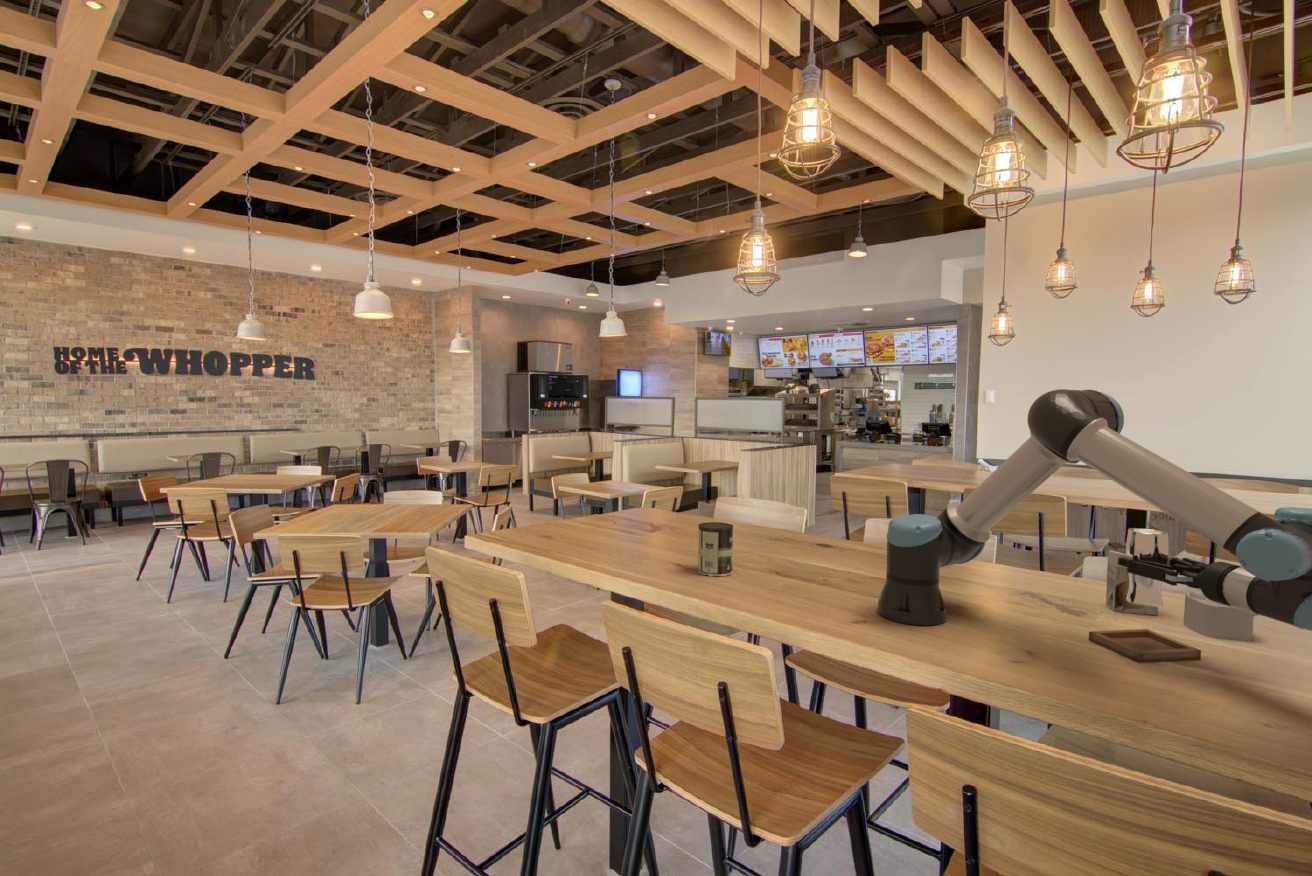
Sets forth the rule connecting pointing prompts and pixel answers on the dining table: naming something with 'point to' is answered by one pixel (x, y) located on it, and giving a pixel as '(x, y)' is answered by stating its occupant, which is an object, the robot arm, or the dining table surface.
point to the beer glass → (1150, 549)
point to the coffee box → (1122, 587)
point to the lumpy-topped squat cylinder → (1216, 618)
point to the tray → (1144, 645)
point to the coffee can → (715, 548)
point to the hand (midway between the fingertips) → (1124, 556)
